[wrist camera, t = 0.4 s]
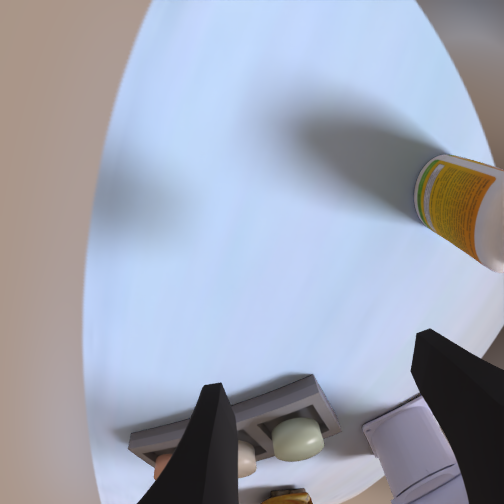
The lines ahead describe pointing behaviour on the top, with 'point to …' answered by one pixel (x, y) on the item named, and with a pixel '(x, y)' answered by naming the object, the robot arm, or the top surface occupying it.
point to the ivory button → (246, 459)
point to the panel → (250, 421)
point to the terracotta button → (161, 464)
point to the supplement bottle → (464, 206)
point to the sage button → (297, 439)
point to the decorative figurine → (289, 497)
